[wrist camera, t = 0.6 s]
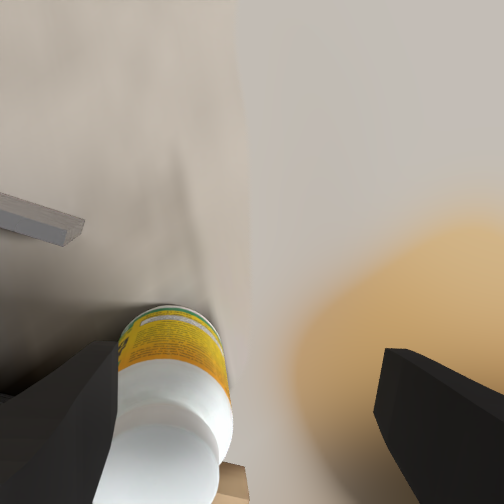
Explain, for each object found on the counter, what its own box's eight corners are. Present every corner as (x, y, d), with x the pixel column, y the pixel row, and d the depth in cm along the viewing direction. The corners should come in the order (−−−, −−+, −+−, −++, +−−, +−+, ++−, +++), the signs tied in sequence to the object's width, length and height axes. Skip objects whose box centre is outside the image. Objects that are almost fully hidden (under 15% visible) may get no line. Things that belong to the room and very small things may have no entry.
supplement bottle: (216, 401, 24) (230, 558, 15) (113, 396, 23) (59, 558, 14) (228, 306, 23) (252, 410, 14) (120, 297, 22) (67, 401, 13)
